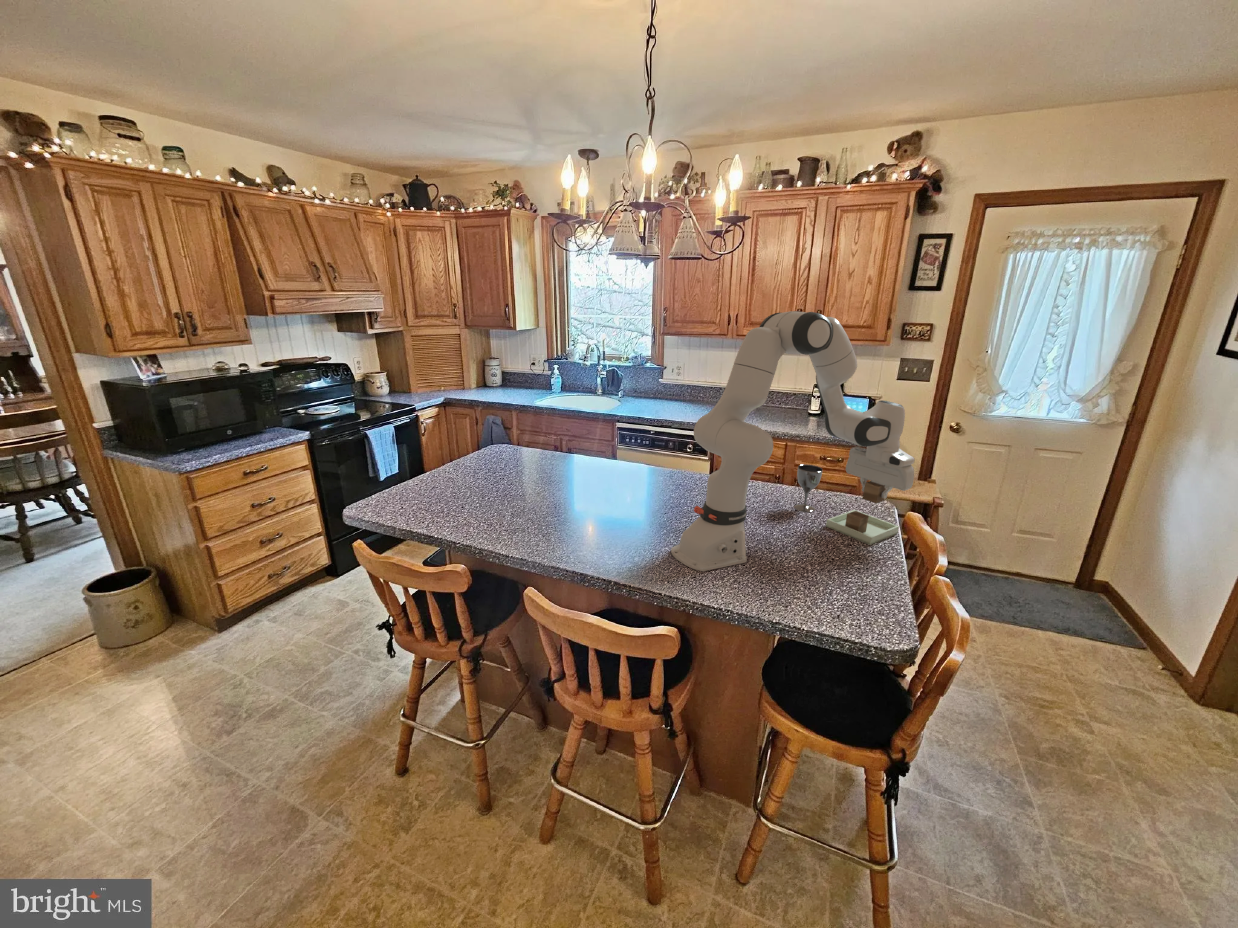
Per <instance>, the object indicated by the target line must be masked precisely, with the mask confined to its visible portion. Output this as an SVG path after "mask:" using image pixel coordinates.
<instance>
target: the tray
mask: <svg viewBox="0 0 1238 928" xmlns="http://www.w3.org/2000/svg"><path fill="white" fill-rule="evenodd" d="M854 511H857V512H860V513H863V514H865V515H868V516H869V518H868V523H867V528H866V532H864V533H861V532H859V531H856V530H854V529H851V528H849V527H846V526H845V524H846V518H847V514H848V513H851V512H854ZM825 527H827V528H829V529H831V530H834V531H836V532H838V533H840V534H843V535H845V536H848V537H849V538H852V539H855V540H856V541H859V542H861V543H864V544H866V545H869V546H872V545H874V544H876V543H878V542H881V541H883V540H886V539H889V538H891V537H893V536H896V535H897V534H898V533H899V528H900V526H899V525H897V524H894V523H892V522H889V521H887V520H883V519H880V518H878V517H875V516H872V515H869V514H868V513H865V512H862V511H859V510H857V509H853V510H851V511H850V510H849V511H847V512H844V513H841V514H839V515H836V516H833V517H830V518H828V519H826V524H825Z"/></svg>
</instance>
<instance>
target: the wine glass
mask: <svg viewBox="0 0 1238 928" xmlns="http://www.w3.org/2000/svg"><path fill="white" fill-rule="evenodd" d="M797 466H798V467H797V475H796V477H797V483H798V484H799V486H800V487H801V488H802V490H803V493H804V500H803V503H797V504H794V505H793V508H794V509H795V510H797V511H799V512H803V513H812V512H815V511H816V508H815V507H814V506H812V505H809V504H807V503H808V502H807V501H808V496H809V494H810V492H812V490H814V489H815V488H816V487H817V486H818V485H819V484H820V481H821V479H822V475H823V468H822V467H821V466H817V465H814V464H806V463H805V464H800V465H797Z"/></svg>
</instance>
